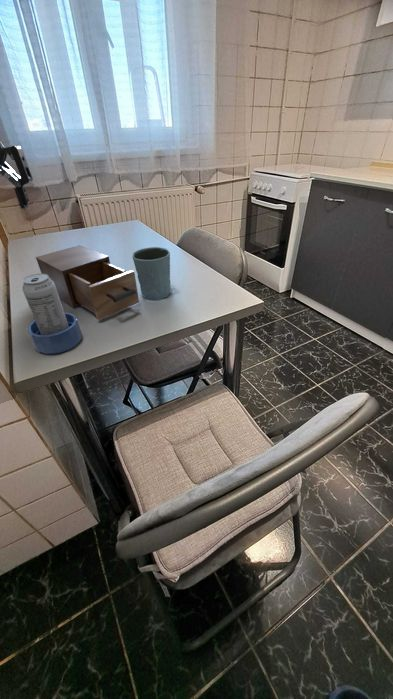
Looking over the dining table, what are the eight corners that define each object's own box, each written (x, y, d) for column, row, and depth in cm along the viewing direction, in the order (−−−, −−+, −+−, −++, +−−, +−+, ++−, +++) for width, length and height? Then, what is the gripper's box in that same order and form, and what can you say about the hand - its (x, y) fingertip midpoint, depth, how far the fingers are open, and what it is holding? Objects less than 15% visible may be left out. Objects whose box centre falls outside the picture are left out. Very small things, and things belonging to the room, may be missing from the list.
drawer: (148, 307, 78) (144, 275, 73) (108, 326, 71) (100, 292, 66) (109, 287, 89) (102, 258, 83) (70, 302, 82) (60, 271, 76)
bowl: (48, 361, 62) (39, 342, 59) (28, 343, 68) (19, 324, 65) (90, 340, 68) (85, 322, 65) (69, 325, 74) (63, 307, 71)
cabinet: (116, 291, 88) (108, 256, 82) (73, 308, 81) (62, 271, 74) (88, 277, 97) (80, 245, 91) (48, 292, 89) (35, 257, 83)
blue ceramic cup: (177, 287, 89) (175, 248, 82) (165, 303, 82) (161, 261, 75) (147, 284, 92) (142, 245, 85) (132, 299, 84) (125, 258, 77)
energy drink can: (75, 331, 70) (55, 271, 61) (67, 346, 65) (45, 284, 56) (50, 333, 70) (26, 273, 61) (40, 348, 65) (13, 285, 56)
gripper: (-98, 104, 46) (-44, 215, 56) (-2, 102, 47) (33, 211, 57) (-69, 107, 52) (-26, 207, 62) (15, 105, 53) (44, 203, 63)
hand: (3, 209), depth 59 cm, fingers open, 8 cm apart
